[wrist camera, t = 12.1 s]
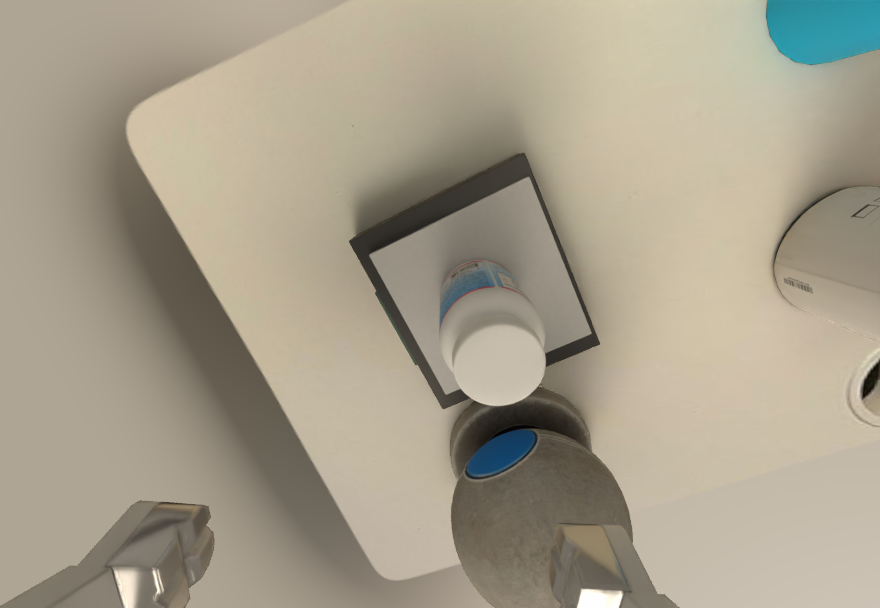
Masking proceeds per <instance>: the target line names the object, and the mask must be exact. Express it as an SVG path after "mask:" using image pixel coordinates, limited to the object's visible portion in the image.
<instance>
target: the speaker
mask: <svg viewBox="0 0 880 608" xmlns="http://www.w3.org/2000/svg"><path fill="white" fill-rule="evenodd" d="M774 271H775V278H776V281H777V284H778V287H779V289H780V291H781V293H782V294H783V296H784V297H785V298H786V299H787V300H788V301H789V302H790V303H791V304H793V305H794V306H796V307H797V308H799V309H802V310H804V311H806V312H809V313H811V314H813V315H816V316H818V317H820V318H823V319H825V320H828V321H830V322H832V323H835V324H837V325H840V326H842V327H844V328H847V329H849V330H852V331H854V332H856V333H859V334H861V335H863V336H866V337H868V338H871V339H873V340H875V341H878V342H880V187H870V186H860V187H851V188H846V189H843V190H841V191H839V192H836V193H834V194H832V195H830V196H828V197H826V198H824V199H822V200H820V201H819V202H817V203H816V204H814V205H813V206H812V207H811V208H809V209H808V210H807V211H805V212H804V213H803V214H801V216H800V217H799V218H798V219H797V220H796V221H795V222H794V223H793V225H792V226H791V227H790V229H789V230H788V232H787V234H786V235H785V237H784V239H783V241H782V243H781V245H780V247H779V250H778V252H777V256H776V260H775V263H774Z"/></svg>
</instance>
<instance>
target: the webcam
mask: <svg viewBox="0 0 880 608" xmlns="http://www.w3.org/2000/svg"><path fill="white" fill-rule="evenodd" d="M450 456H451V463H452V468H453V471H454V474H455V476H456V478H457V480H458V482H457V485H456V487H455V490H454V495H453V501H452V506H451V522H452V532H453V538H454V544H455V547H456V551H457V554H458V557H459V559H460V562H461V564H462V566H463V569H464V570H465V573H466V574H467V576H468V578H469V579H470V581H471V583H472V584H473V586H474V587H475V588H476V590H477V591H478V592H479V593H480V595H481V596H482V597H483V598H484V599H485V600H486V601H487V602H488V603H489V604H491V605H492V606H493V607H495V608H560V605H561V604H560V603H559V602H558V600H557V599H556V598H555V597H554V596H553V594H552V590H551V586H550V581H549V574H548V558H549V552H550V549H551V548H552V547H553V546H554V545H555V544H556V543H555V540H554V536H553V532H554V528H555V526H556V524H557V523H577V524H598V525H620V526H622V527H623V528H624V529H625V530H626V532H627V534H628V536H629V538H630V540H631V542H632V543H633V535H632V534H633V533H632V526H631V520H630V515H629V510H628V507H627V504H626V502H625V499H624V496H623V493H622V491H621V489H620V488H619V486H618V484H617V482H616V480H615V478H614V476H613V475H612V473H611V472H610V471H609V469H608V468H607V467H606V466H605V464H604V463H603V462H602V461H601V460H600V459H599V458H598V457H597V456H596V455H594V454H593V453H592V445H591V439H590V435H589V432H588V429H587V427H586V425H585V423H584V421H583V419H582V417H581V415H580V414H579V412H578V411H577V410H576V409H575V408H574V406H573V405H571V404H570V403H569V402H568V401H567V400H565V399H564V398H562V397H561V396H559V395H557V394H555V393H553V392H550V391H547V390H544V389H540V388H536V389H535V390H534V391H533V392H532V393H531V394H530V395H529V396H527V397H526V398H524V399H522V400H520V401H518V402H515V403H513V404H509V405H503V406H491V405H486V404H482V403H479V402H477V401H476V402H474V403H473V404H471V405H470V406H469V407H468V408H467V409H466V410H465V411H464V413H463V414H462V415H461V416H460V418H459V420H458V421H457V423H456V425H455V427H454V429H453V432H452V436H451V441H450Z"/></svg>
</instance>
